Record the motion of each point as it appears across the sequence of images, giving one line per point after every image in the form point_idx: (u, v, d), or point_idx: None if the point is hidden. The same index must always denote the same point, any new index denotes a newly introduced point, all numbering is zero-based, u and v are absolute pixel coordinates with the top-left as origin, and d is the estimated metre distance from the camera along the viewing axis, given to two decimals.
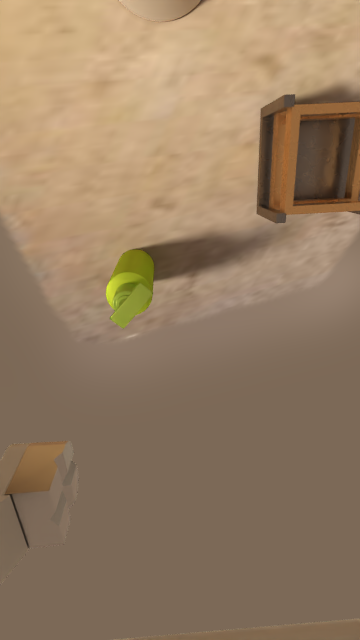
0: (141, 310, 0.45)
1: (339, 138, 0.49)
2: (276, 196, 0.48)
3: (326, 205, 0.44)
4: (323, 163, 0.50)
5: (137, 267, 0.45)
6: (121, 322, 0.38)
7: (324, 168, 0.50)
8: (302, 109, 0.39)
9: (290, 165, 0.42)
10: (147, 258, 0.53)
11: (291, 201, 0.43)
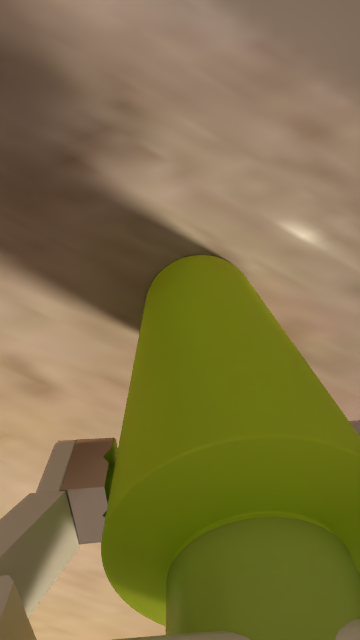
0: (291, 455, 0.06)
1: None
2: None
3: None
4: None
5: None
6: None
7: None
8: None
9: None
10: None
11: None
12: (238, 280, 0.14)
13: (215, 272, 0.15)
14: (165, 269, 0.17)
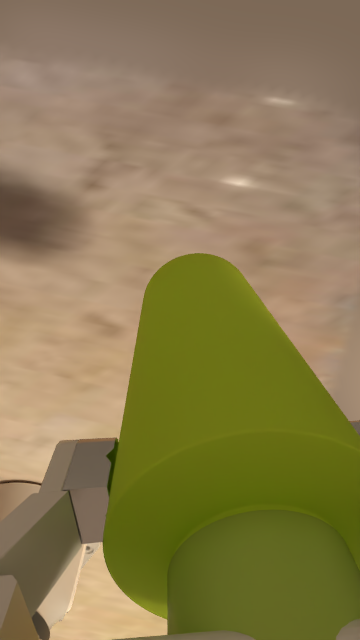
0: (288, 449, 0.06)
1: None
2: None
3: None
4: None
5: None
6: None
7: None
8: None
9: None
10: None
11: None
12: (235, 278, 0.14)
13: (212, 270, 0.15)
14: (162, 268, 0.17)
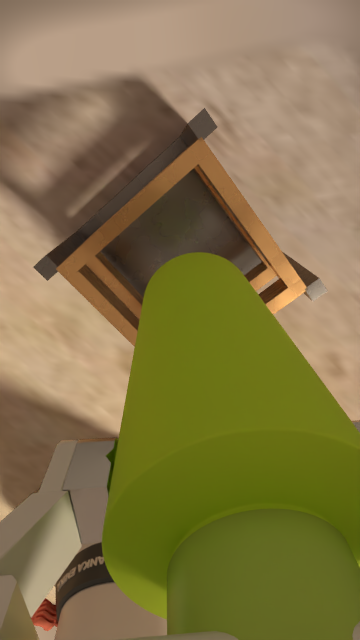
0: (289, 447, 0.06)
1: (125, 234, 0.31)
2: (263, 279, 0.29)
3: (254, 237, 0.22)
4: (166, 227, 0.30)
5: None
6: None
7: (170, 220, 0.30)
8: None
9: None
10: None
11: (283, 295, 0.24)
12: (235, 277, 0.14)
13: (212, 269, 0.15)
14: (162, 267, 0.17)
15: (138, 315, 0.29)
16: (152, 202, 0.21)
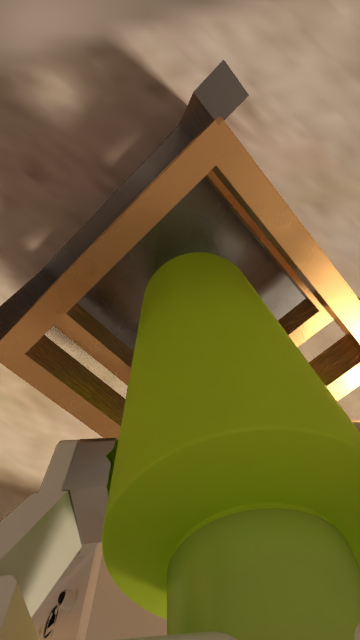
0: (289, 447, 0.06)
1: (109, 270, 0.22)
2: (313, 327, 0.20)
3: (316, 283, 0.13)
4: (166, 257, 0.22)
5: None
6: None
7: (172, 247, 0.21)
8: None
9: None
10: None
11: None
12: (235, 276, 0.14)
13: (212, 269, 0.15)
14: (162, 267, 0.17)
15: None
16: (138, 237, 0.12)
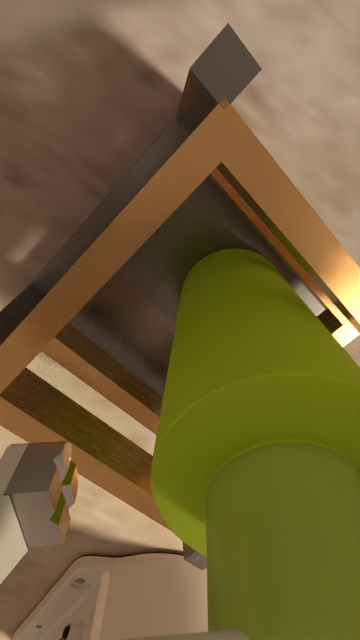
0: (322, 391, 0.07)
1: (103, 283, 0.19)
2: None
3: (348, 302, 0.11)
4: (167, 267, 0.19)
5: None
6: None
7: (172, 256, 0.19)
8: None
9: None
10: None
11: None
12: (272, 270, 0.15)
13: (251, 262, 0.16)
14: (203, 260, 0.18)
15: (134, 415, 0.18)
16: (128, 254, 0.10)
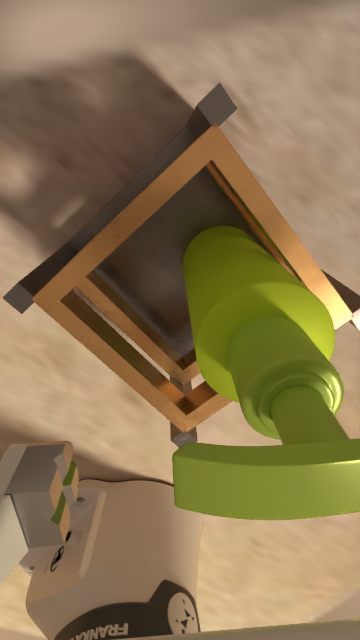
0: (289, 291, 0.13)
1: (123, 246, 0.26)
2: None
3: (286, 253, 0.17)
4: (171, 237, 0.25)
5: None
6: None
7: (176, 228, 0.25)
8: (178, 418, 0.21)
9: None
10: (184, 275, 0.24)
11: None
12: (254, 241, 0.22)
13: (240, 235, 0.22)
14: (202, 233, 0.25)
15: (140, 344, 0.24)
16: (152, 212, 0.16)
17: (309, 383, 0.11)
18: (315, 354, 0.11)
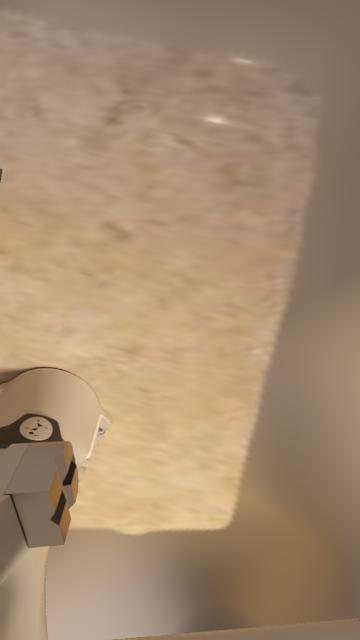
0: None
1: None
2: None
3: None
4: None
5: None
6: None
7: None
8: None
9: None
10: None
11: None
12: None
13: None
14: None
15: None
16: None
17: None
18: None
